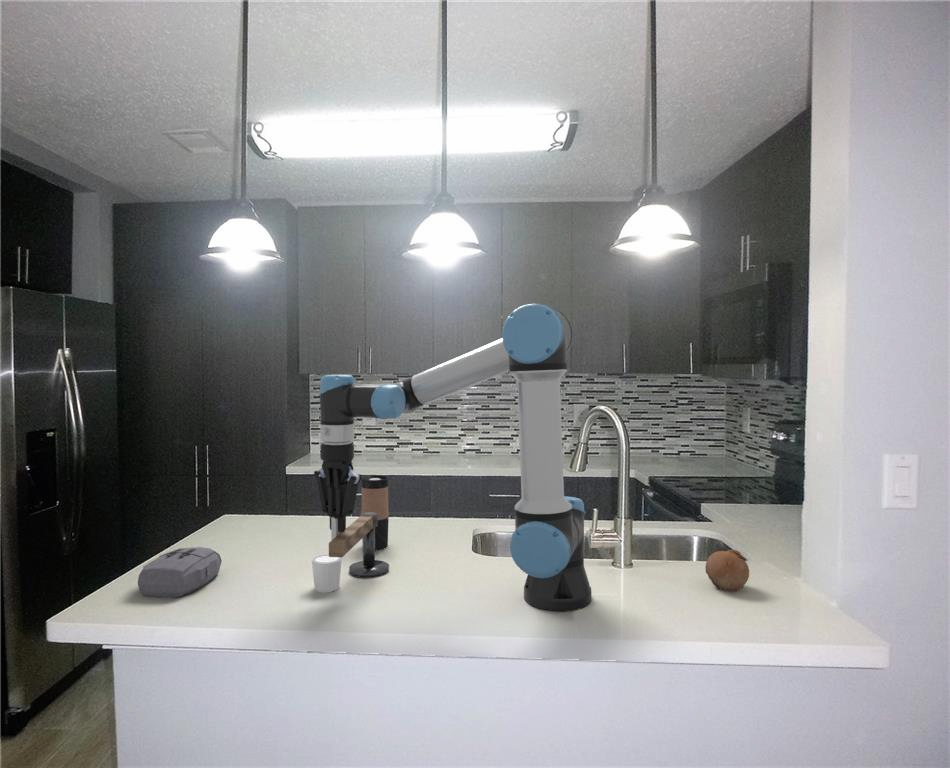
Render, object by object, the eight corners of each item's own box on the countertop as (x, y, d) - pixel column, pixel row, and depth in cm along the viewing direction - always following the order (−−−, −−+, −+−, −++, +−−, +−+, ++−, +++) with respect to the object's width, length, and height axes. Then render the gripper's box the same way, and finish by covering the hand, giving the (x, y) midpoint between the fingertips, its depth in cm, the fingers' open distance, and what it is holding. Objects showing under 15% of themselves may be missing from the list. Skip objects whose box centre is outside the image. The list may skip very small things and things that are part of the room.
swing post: (397, 570, 158) (396, 527, 157) (365, 580, 150) (365, 535, 150) (372, 561, 164) (372, 520, 164) (341, 571, 157) (340, 528, 157)
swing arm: (363, 523, 159) (362, 512, 159) (379, 524, 159) (379, 512, 159) (325, 556, 132) (325, 542, 132) (345, 557, 132) (345, 543, 132)
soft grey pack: (190, 600, 138) (234, 570, 158) (189, 563, 138) (233, 538, 158) (127, 598, 140) (178, 568, 160) (126, 561, 140) (177, 536, 159)
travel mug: (386, 550, 174) (385, 480, 173) (359, 550, 174) (358, 480, 173) (390, 543, 182) (390, 475, 181) (364, 542, 182) (364, 475, 181)
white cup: (305, 590, 144) (305, 560, 144) (325, 580, 150) (325, 552, 150) (328, 595, 141) (328, 565, 141) (348, 585, 147) (347, 556, 147)
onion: (737, 597, 147) (754, 559, 148) (740, 601, 139) (758, 560, 140) (698, 578, 151) (715, 540, 152) (698, 579, 143) (716, 540, 143)
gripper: (304, 442, 141) (305, 544, 142) (346, 446, 134) (346, 553, 135) (328, 438, 147) (329, 536, 149) (369, 442, 141) (370, 545, 142)
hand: (337, 544), depth 142 cm, fingers closed
